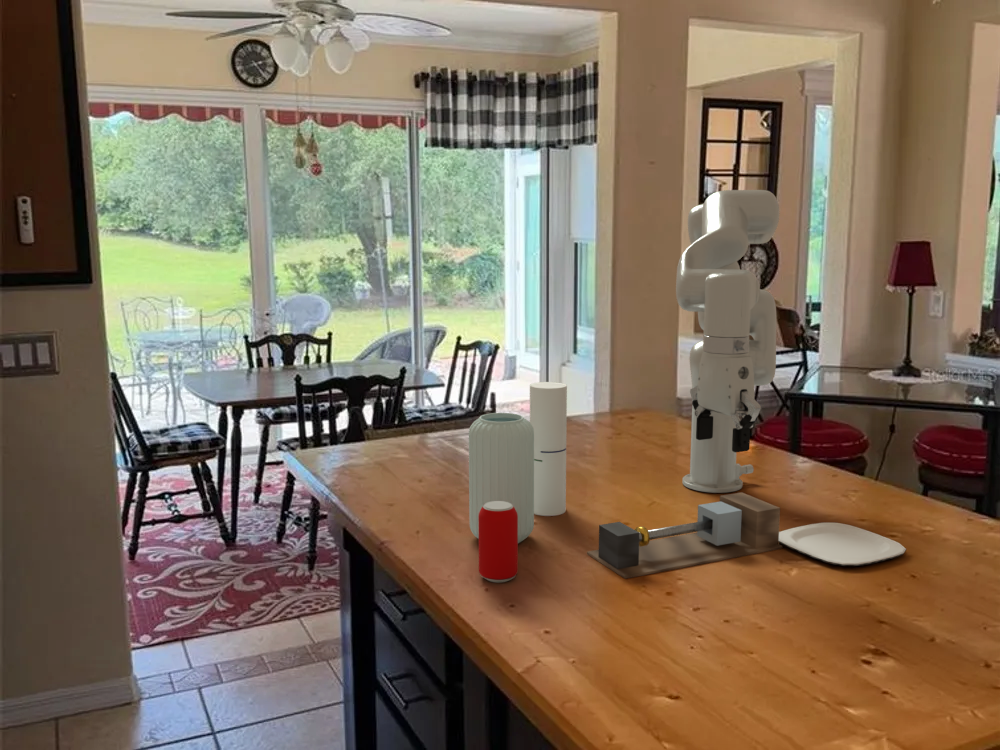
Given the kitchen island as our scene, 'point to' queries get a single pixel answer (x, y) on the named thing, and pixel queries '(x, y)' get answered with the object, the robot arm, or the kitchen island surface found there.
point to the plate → (840, 544)
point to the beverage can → (498, 541)
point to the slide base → (688, 542)
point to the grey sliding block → (720, 523)
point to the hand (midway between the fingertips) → (721, 444)
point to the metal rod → (671, 531)
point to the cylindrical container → (549, 446)
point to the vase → (502, 467)
